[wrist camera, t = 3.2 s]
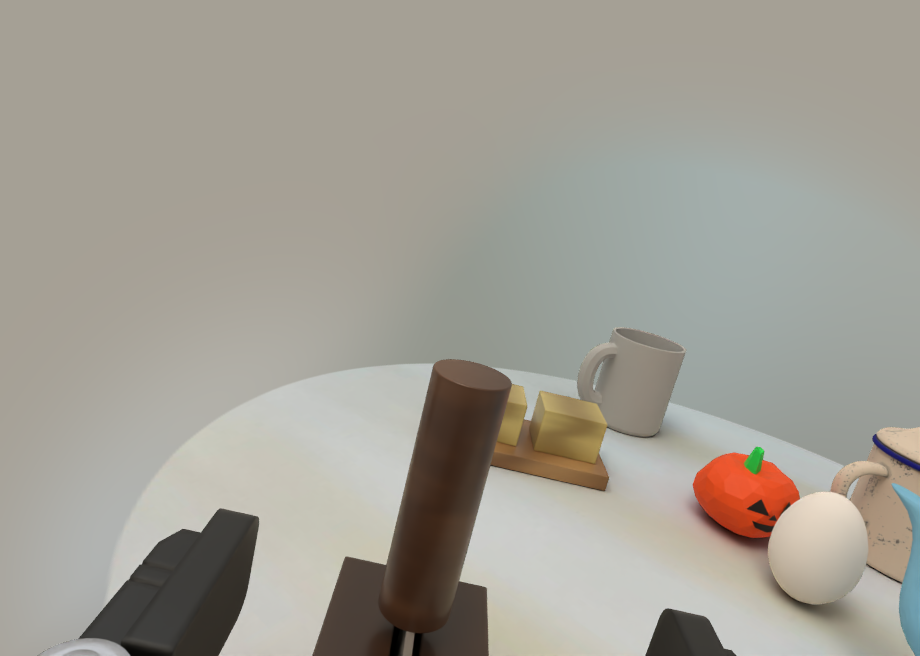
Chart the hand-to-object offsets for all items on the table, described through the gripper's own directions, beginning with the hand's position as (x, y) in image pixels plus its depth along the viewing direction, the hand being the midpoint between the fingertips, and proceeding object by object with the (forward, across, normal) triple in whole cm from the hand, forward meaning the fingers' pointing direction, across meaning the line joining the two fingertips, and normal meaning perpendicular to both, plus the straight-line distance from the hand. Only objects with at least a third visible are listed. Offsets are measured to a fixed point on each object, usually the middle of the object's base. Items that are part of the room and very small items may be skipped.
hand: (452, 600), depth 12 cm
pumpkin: (+34, -24, +14) cm, 44 cm away
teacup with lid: (+34, -36, +14) cm, 51 cm away
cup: (+51, -18, +14) cm, 55 cm away
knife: (+9, 0, +13) cm, 16 cm away
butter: (+38, -7, +13) cm, 41 cm away
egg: (+26, -25, +14) cm, 38 cm away
